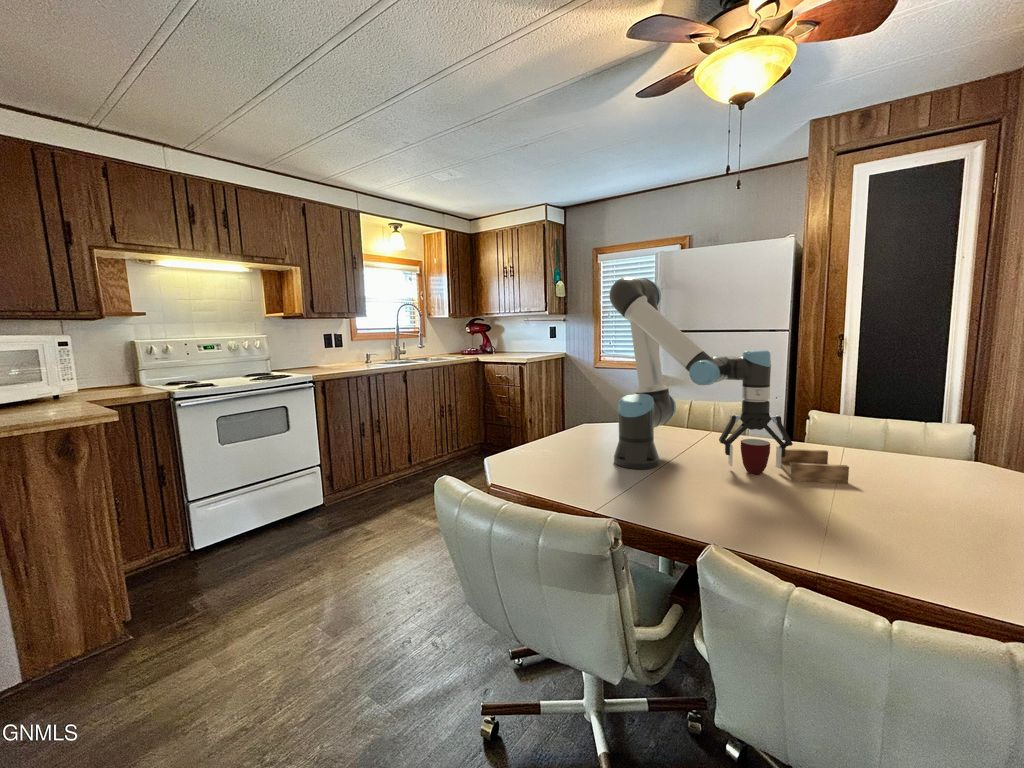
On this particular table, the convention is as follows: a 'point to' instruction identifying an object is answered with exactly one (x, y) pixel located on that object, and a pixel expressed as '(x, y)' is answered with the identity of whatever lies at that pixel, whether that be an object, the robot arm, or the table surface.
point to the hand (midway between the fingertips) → (753, 466)
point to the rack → (812, 467)
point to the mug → (755, 455)
